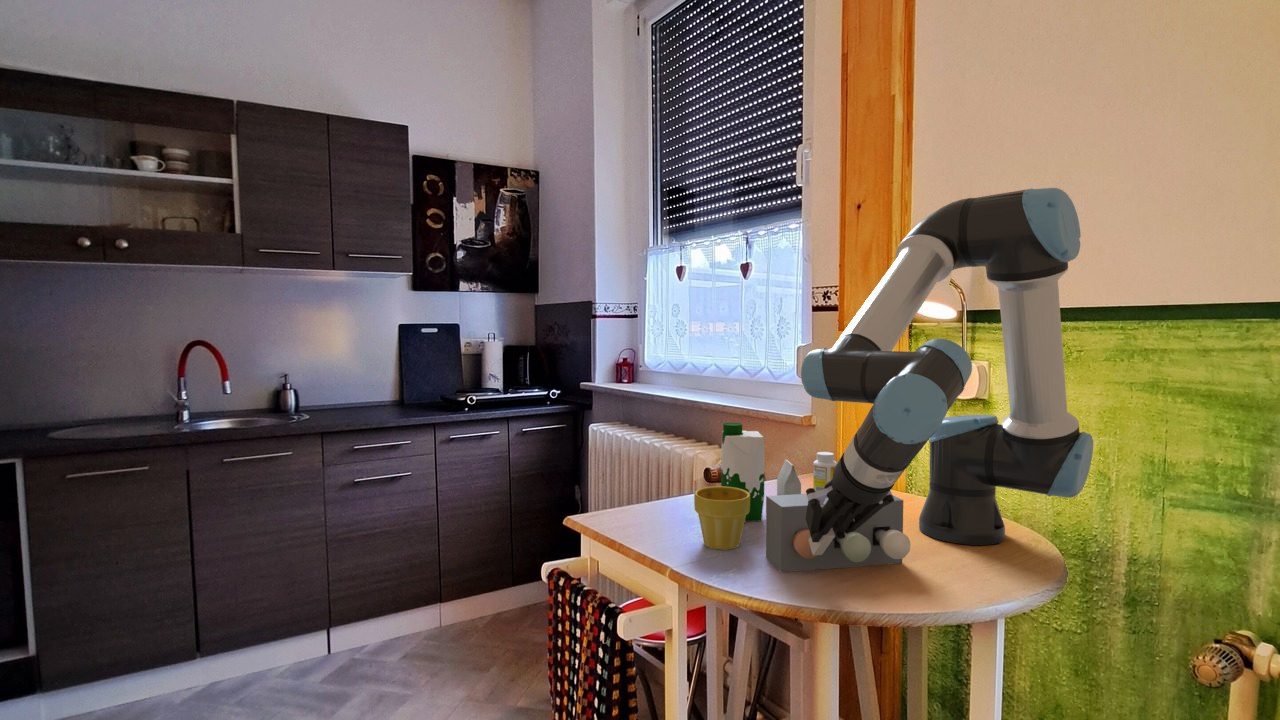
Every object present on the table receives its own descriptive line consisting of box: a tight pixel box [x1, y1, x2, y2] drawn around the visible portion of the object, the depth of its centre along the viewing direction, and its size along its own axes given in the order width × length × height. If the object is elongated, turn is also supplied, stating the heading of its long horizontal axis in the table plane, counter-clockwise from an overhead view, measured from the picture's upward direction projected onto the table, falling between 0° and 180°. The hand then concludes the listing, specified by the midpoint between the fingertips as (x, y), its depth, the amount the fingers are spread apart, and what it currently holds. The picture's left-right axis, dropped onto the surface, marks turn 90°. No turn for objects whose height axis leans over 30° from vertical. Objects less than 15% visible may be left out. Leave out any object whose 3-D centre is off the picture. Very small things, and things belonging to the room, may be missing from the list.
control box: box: [765, 493, 904, 573], centre depth 113 cm, size 22×7×11 cm, turn 100°
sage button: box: [835, 532, 871, 562], centre depth 107 cm, size 4×6×4 cm
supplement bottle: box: [812, 451, 838, 491], centre depth 156 cm, size 6×6×10 cm
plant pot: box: [693, 485, 750, 551], centre depth 121 cm, size 10×10×10 cm
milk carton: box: [720, 422, 765, 522], centre depth 139 cm, size 9×9×20 cm
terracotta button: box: [793, 529, 817, 559], centre depth 109 cm, size 4×6×4 cm
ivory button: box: [873, 528, 912, 560], centre depth 108 cm, size 4×6×4 cm
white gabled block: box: [776, 459, 802, 495], centre depth 147 cm, size 4×7×10 cm, turn 2°
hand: (814, 547), depth 104 cm, fingers closed
